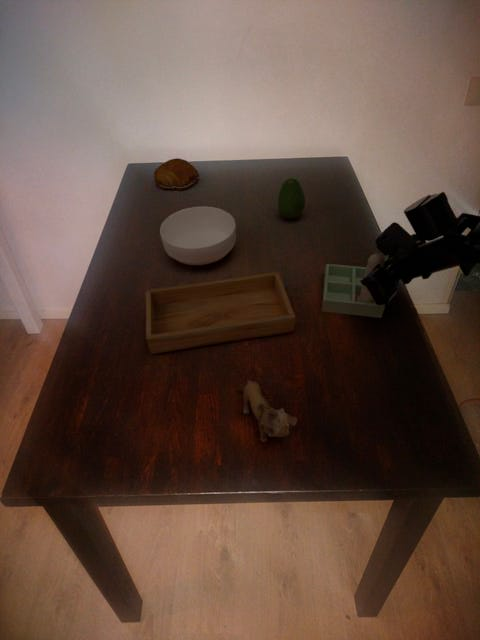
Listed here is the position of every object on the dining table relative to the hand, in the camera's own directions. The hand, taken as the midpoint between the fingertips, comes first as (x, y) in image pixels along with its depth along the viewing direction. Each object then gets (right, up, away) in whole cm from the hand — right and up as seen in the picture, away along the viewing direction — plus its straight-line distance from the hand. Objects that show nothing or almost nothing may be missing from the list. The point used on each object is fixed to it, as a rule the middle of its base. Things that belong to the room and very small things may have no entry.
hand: (365, 278), depth 83 cm
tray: (-32, -9, +4) cm, 33 cm away
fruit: (-12, +22, +32) cm, 40 cm away
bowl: (-38, +9, +22) cm, 45 cm away
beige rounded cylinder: (+1, -5, +4) cm, 7 cm away
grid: (-1, -3, +7) cm, 8 cm away
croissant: (-49, +39, +51) cm, 81 cm away
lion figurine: (-23, -27, -14) cm, 38 cm away
